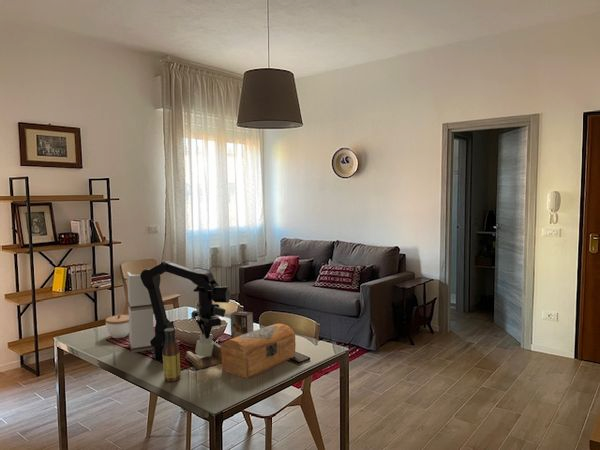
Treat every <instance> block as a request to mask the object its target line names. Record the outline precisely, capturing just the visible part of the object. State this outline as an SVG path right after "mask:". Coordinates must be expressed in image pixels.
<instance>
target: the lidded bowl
mask: <svg viewBox="0 0 600 450" xmlns="http://www.w3.org/2000/svg"><path fill="white" fill-rule="evenodd" d="M105 328H106V331H107V333H108V335H110V336H111V337H112V338H113V339H120V338H121V339H122V338H125V337H127V336H128V335H129V314H121V313H118V314H117V315H116V314H115V315H112V316H109V317H107V318H106V319H105Z"/></svg>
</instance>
